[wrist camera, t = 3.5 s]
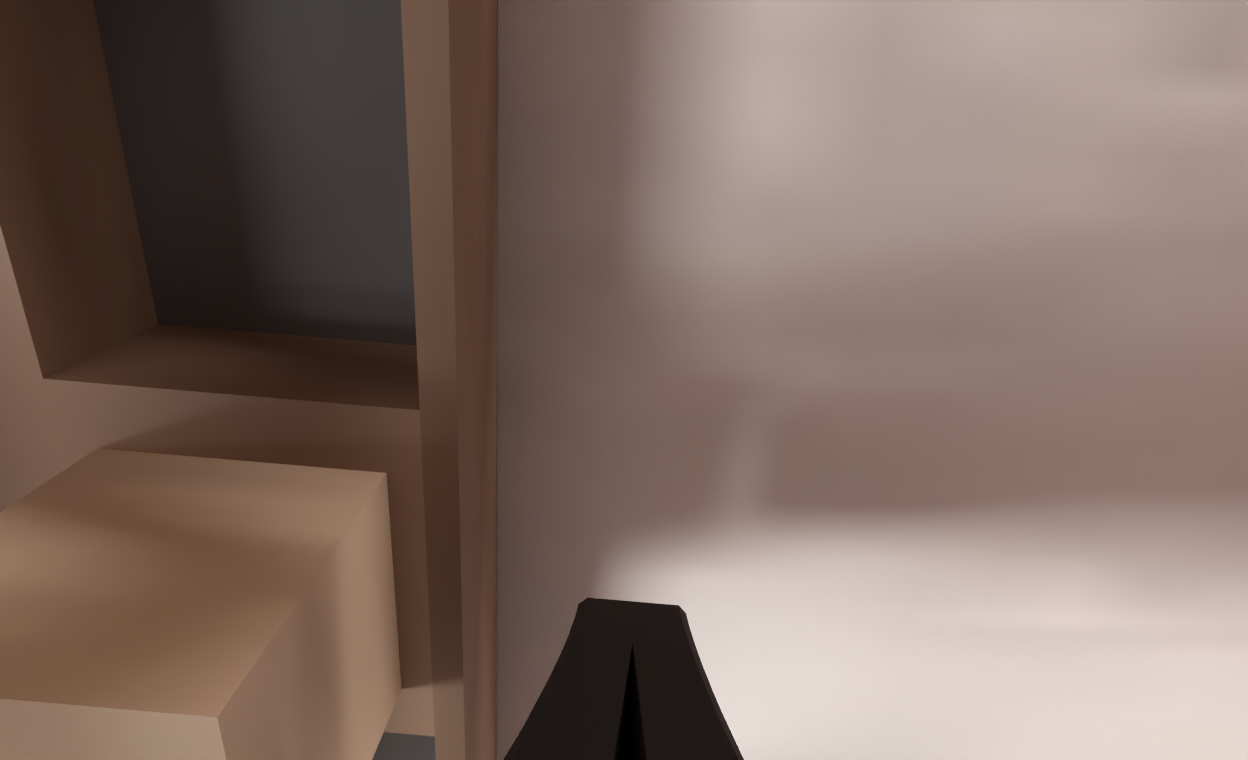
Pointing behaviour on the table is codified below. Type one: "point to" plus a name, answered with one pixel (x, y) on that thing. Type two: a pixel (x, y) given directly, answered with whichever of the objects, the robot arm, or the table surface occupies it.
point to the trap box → (270, 277)
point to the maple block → (197, 612)
